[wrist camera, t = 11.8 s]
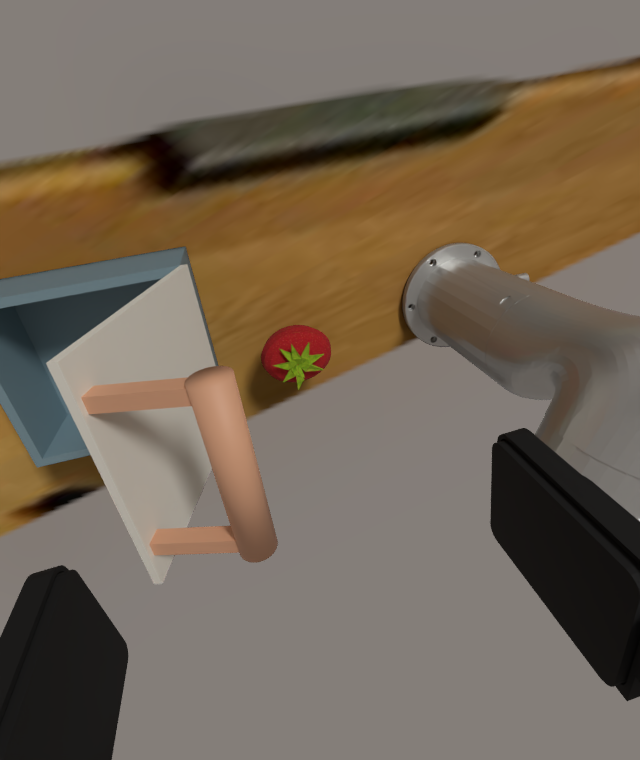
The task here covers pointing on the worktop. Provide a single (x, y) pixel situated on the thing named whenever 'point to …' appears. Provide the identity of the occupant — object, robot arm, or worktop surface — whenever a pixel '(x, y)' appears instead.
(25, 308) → the carton
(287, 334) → the strawberry
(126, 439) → the flap
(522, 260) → the worktop surface
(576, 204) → the worktop surface
